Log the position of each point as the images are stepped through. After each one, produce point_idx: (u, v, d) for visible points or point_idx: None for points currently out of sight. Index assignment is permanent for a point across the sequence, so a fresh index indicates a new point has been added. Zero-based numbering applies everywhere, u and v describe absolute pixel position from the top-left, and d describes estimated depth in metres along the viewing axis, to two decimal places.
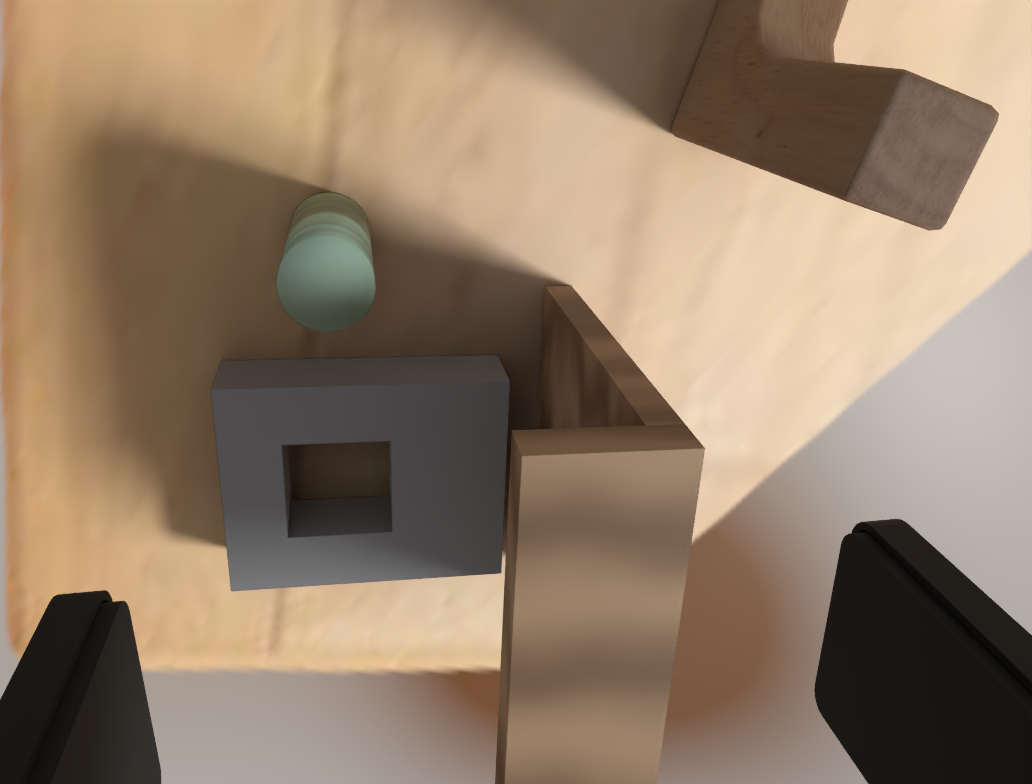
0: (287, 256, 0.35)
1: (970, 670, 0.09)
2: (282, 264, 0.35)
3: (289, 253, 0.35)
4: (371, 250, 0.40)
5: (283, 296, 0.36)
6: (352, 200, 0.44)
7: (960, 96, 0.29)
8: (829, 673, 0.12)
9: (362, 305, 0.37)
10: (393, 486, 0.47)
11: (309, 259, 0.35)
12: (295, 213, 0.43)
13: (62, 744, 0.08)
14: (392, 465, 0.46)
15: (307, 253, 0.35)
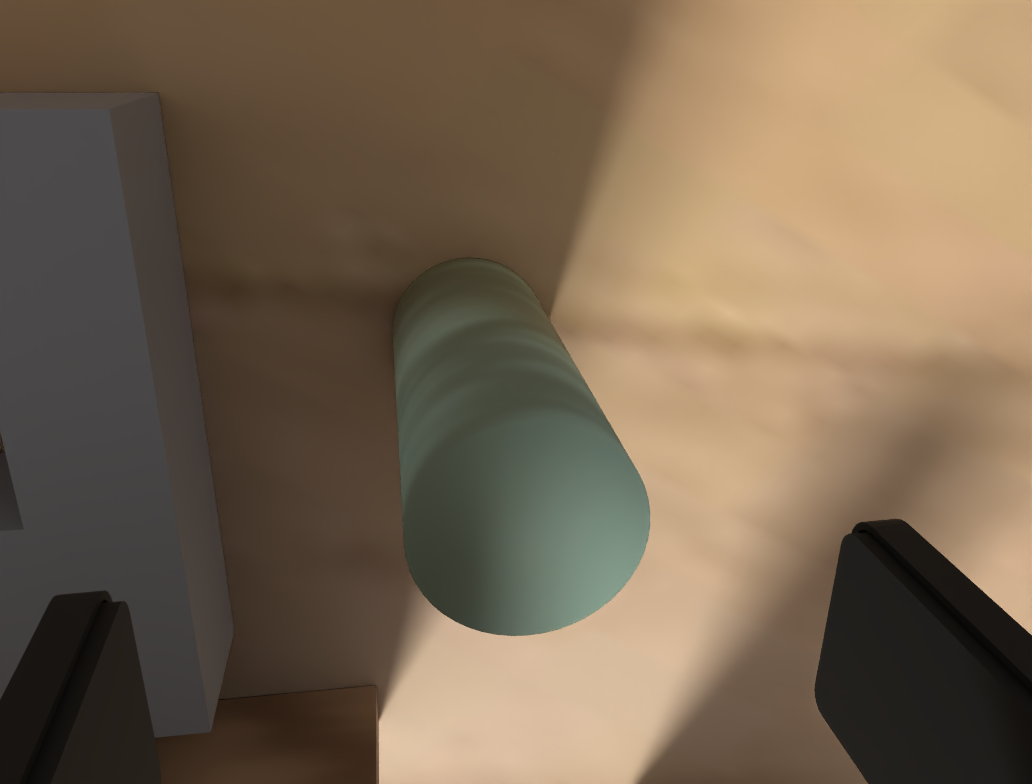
0: (610, 446, 0.14)
1: (970, 671, 0.09)
2: (590, 435, 0.13)
3: (616, 449, 0.14)
4: None
5: (504, 439, 0.13)
6: None
7: None
8: (829, 673, 0.12)
9: (477, 611, 0.14)
10: None
11: (598, 495, 0.14)
12: (517, 281, 0.22)
13: (62, 744, 0.08)
14: None
15: (615, 490, 0.14)
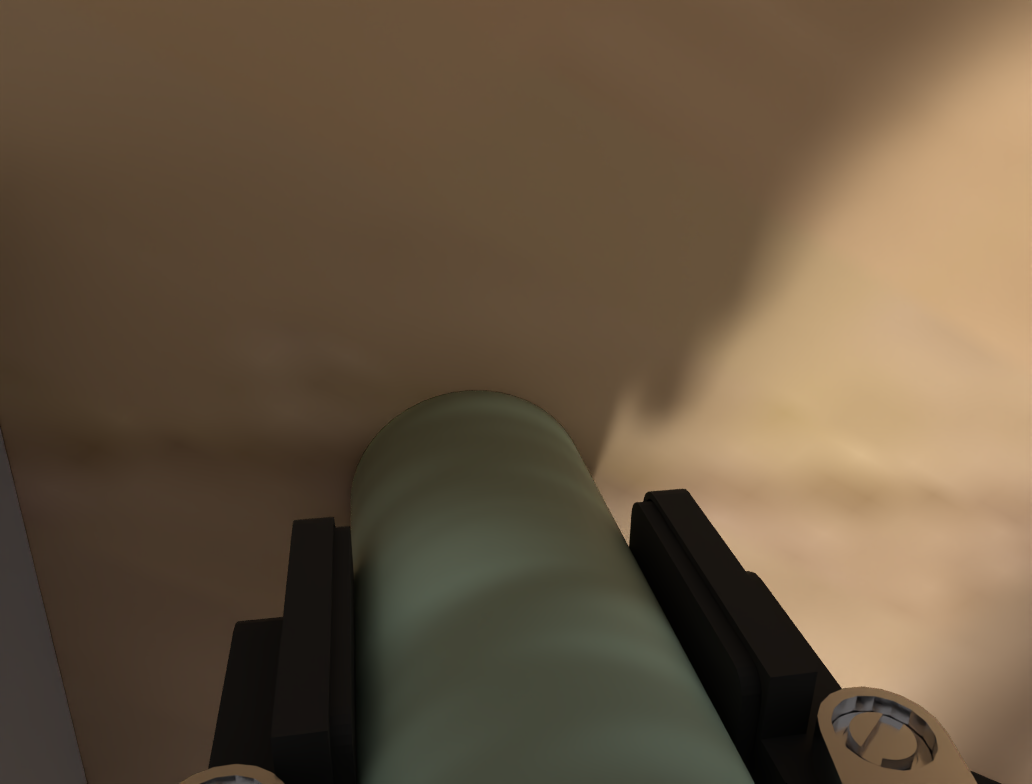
0: None
1: (701, 623, 0.10)
2: None
3: None
4: None
5: None
6: None
7: None
8: None
9: None
10: None
11: None
12: (550, 434, 0.13)
13: (347, 630, 0.09)
14: None
15: None
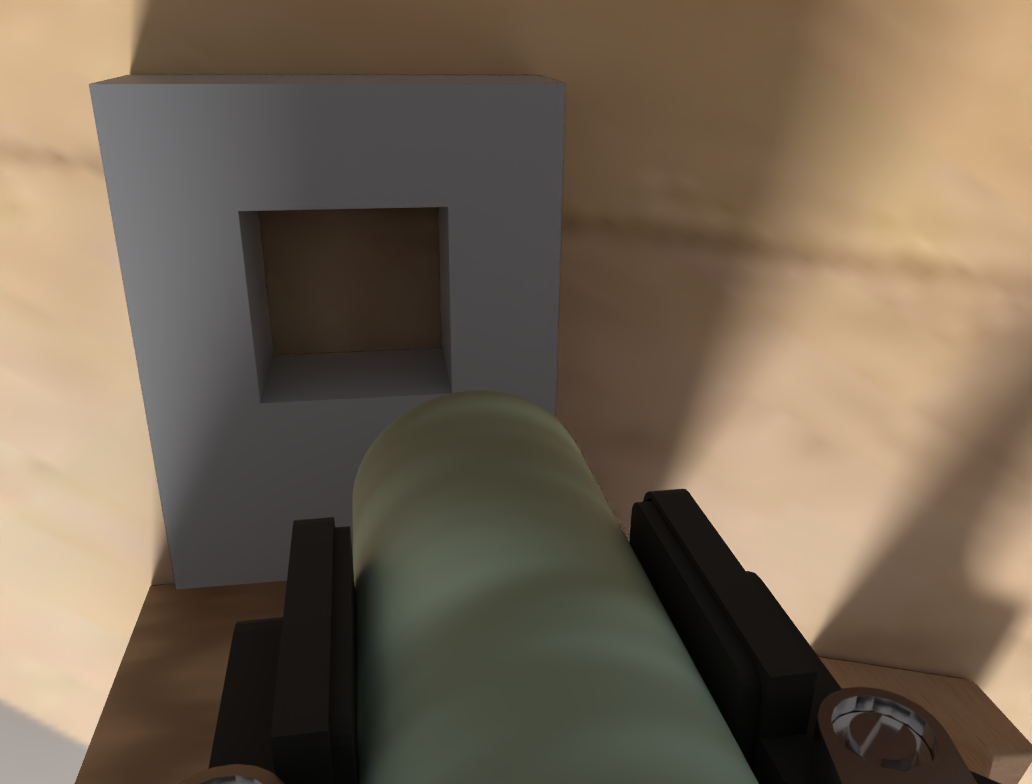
0: None
1: (700, 622, 0.10)
2: None
3: None
4: None
5: None
6: None
7: None
8: None
9: None
10: (359, 401, 0.26)
11: None
12: (553, 434, 0.13)
13: (347, 630, 0.09)
14: (402, 397, 0.26)
15: None
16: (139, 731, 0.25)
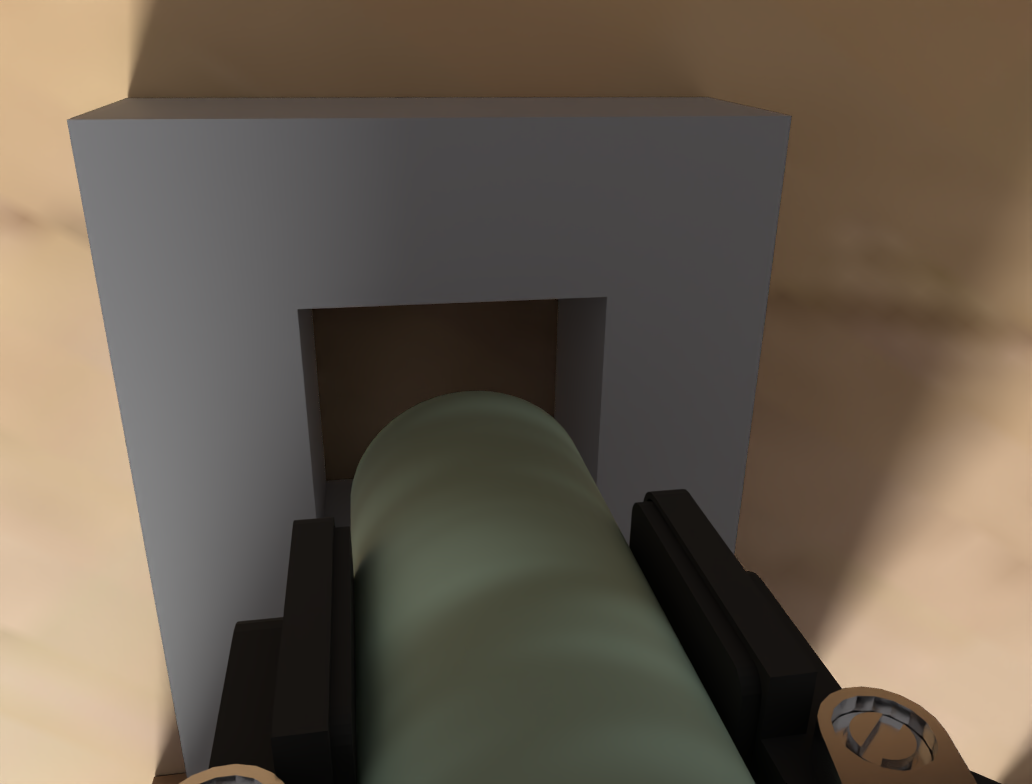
0: None
1: (701, 622, 0.10)
2: None
3: None
4: None
5: None
6: None
7: None
8: None
9: None
10: None
11: None
12: (551, 434, 0.13)
13: (347, 630, 0.09)
14: None
15: None
16: None
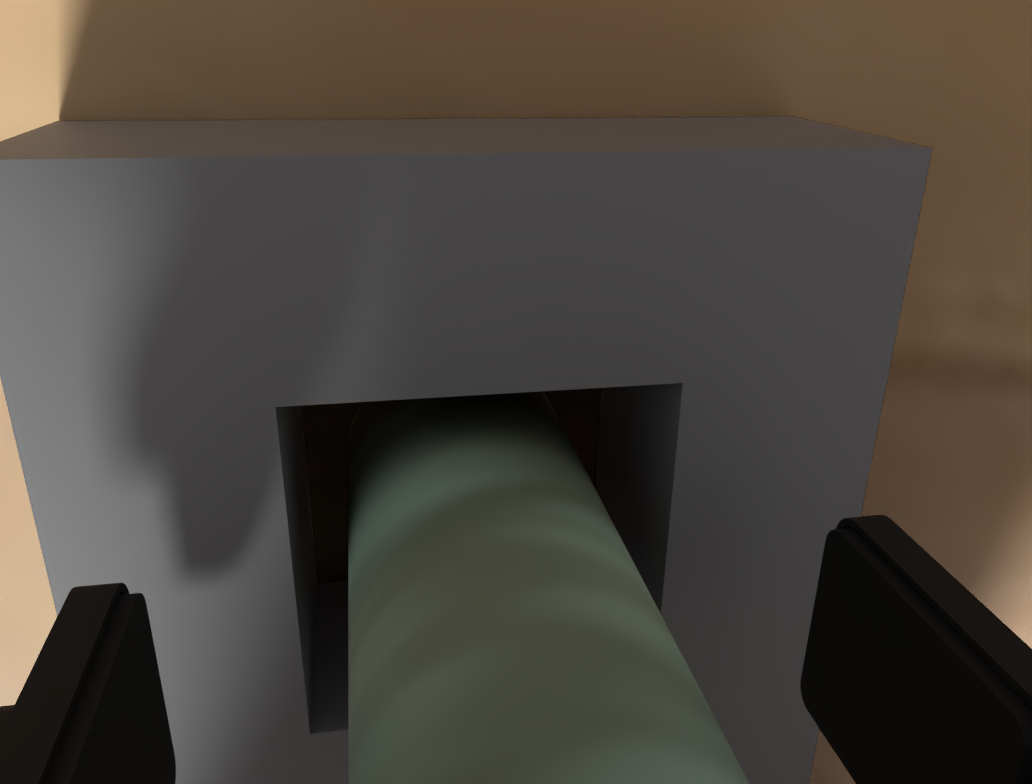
0: None
1: (948, 664, 0.09)
2: None
3: None
4: None
5: None
6: None
7: None
8: (814, 668, 0.12)
9: None
10: None
11: None
12: None
13: (85, 732, 0.08)
14: None
15: None
16: None
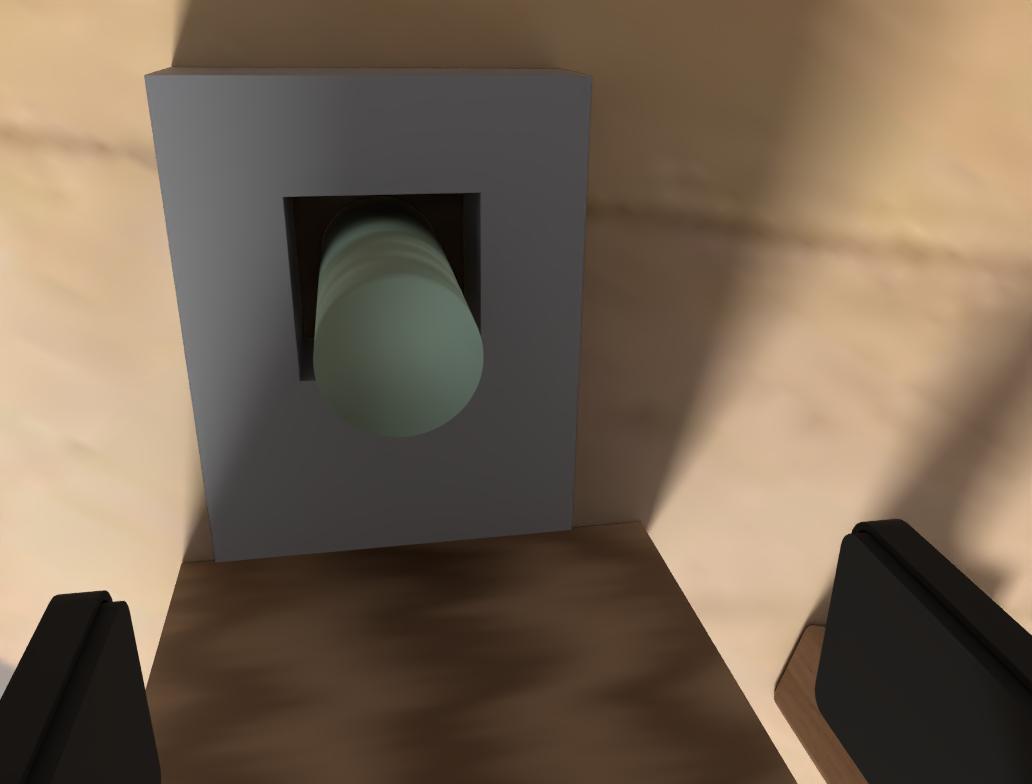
0: (451, 298, 0.20)
1: (970, 671, 0.09)
2: (437, 289, 0.20)
3: (456, 300, 0.20)
4: None
5: (378, 291, 0.20)
6: None
7: None
8: (829, 673, 0.12)
9: (366, 418, 0.21)
10: None
11: (446, 333, 0.21)
12: (415, 212, 0.28)
13: (62, 744, 0.08)
14: None
15: (457, 330, 0.21)
16: (186, 696, 0.26)
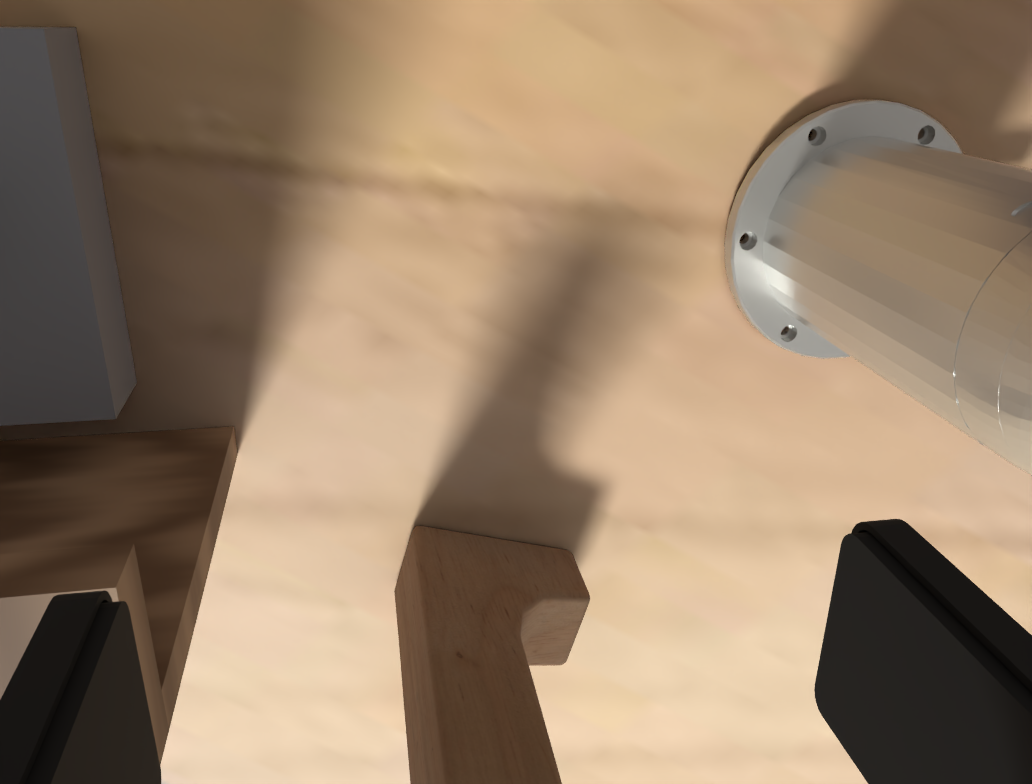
0: None
1: (970, 670, 0.09)
2: None
3: None
4: None
5: None
6: None
7: None
8: (829, 673, 0.12)
9: None
10: None
11: None
12: None
13: (62, 744, 0.08)
14: None
15: None
16: None
